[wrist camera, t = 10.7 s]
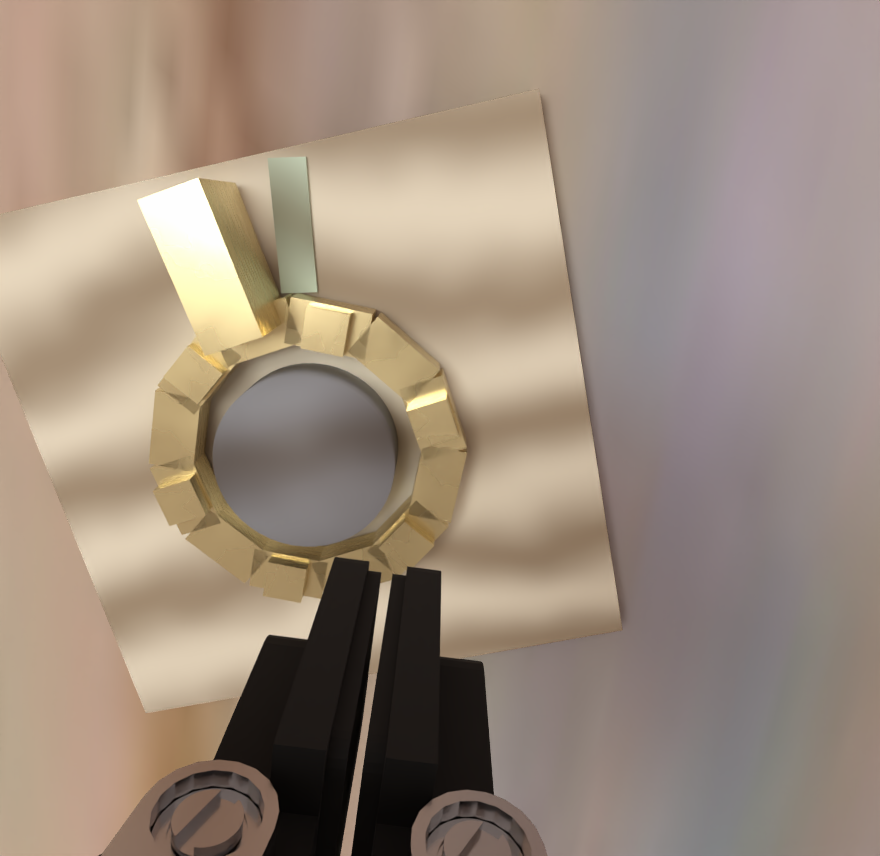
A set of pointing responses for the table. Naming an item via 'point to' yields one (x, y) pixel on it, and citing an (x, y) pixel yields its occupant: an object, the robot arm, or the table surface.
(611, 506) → the table surface
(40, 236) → the base
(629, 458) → the table surface
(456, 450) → the ring nut
